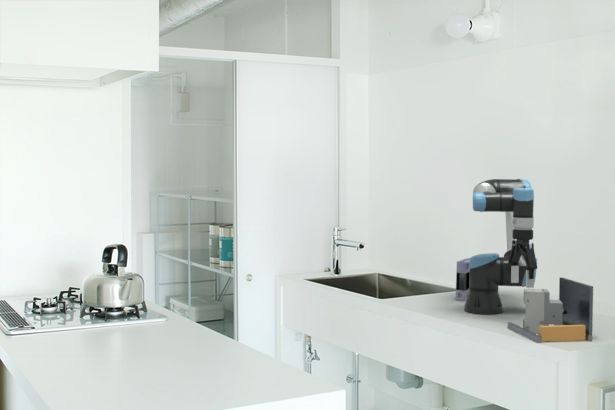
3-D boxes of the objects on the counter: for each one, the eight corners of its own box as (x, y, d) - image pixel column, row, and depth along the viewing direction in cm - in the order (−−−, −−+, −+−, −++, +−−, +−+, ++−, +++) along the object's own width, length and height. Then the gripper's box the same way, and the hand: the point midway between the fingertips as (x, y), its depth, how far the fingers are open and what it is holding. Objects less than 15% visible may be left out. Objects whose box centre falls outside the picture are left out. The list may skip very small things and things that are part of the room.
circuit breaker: (567, 335, 267) (567, 292, 266) (524, 334, 270) (525, 291, 269) (564, 331, 274) (565, 289, 274) (523, 329, 277) (523, 288, 277)
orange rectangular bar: (538, 340, 259) (539, 325, 259) (582, 339, 262) (582, 324, 261) (541, 342, 257) (541, 327, 257) (585, 340, 260) (585, 325, 259)
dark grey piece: (507, 327, 281) (508, 278, 280) (561, 326, 284) (562, 277, 283) (537, 342, 256) (538, 288, 255) (596, 340, 259) (597, 287, 258)
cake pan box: (464, 301, 337) (465, 261, 336) (453, 300, 339) (454, 260, 338) (480, 295, 353) (480, 257, 352) (470, 294, 355) (470, 256, 355)
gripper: (500, 226, 302) (499, 280, 302) (527, 231, 277) (526, 289, 278) (518, 226, 303) (517, 280, 303) (547, 231, 278) (546, 289, 279)
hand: (522, 285), depth 291 cm, fingers open, 13 cm apart
